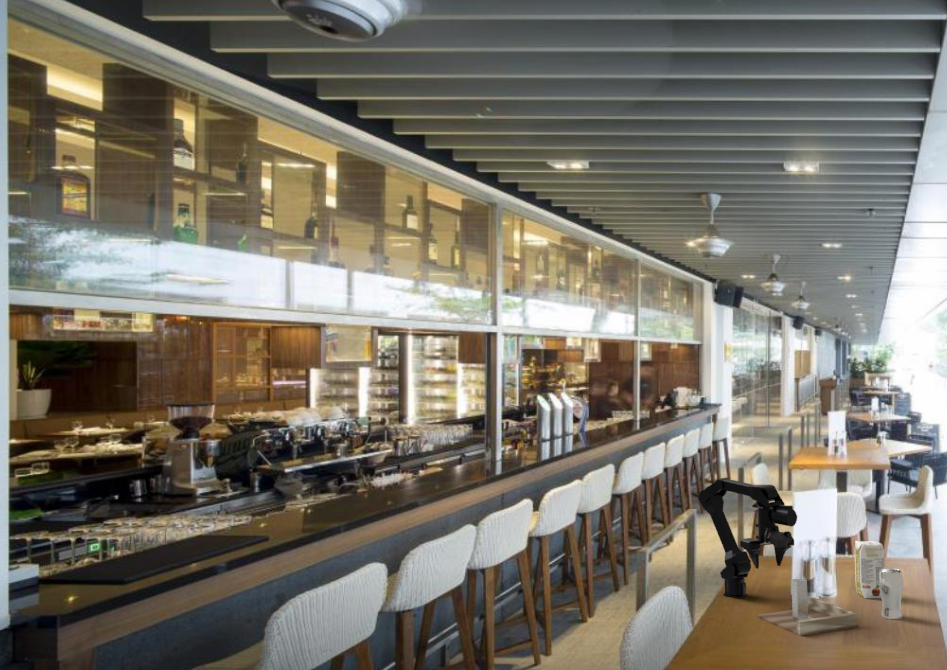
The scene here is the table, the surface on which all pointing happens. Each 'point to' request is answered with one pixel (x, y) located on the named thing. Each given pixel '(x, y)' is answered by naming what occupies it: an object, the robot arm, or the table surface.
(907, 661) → the table surface
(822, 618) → the corner board
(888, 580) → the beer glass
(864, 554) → the juice carton
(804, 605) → the aluminium bracket
